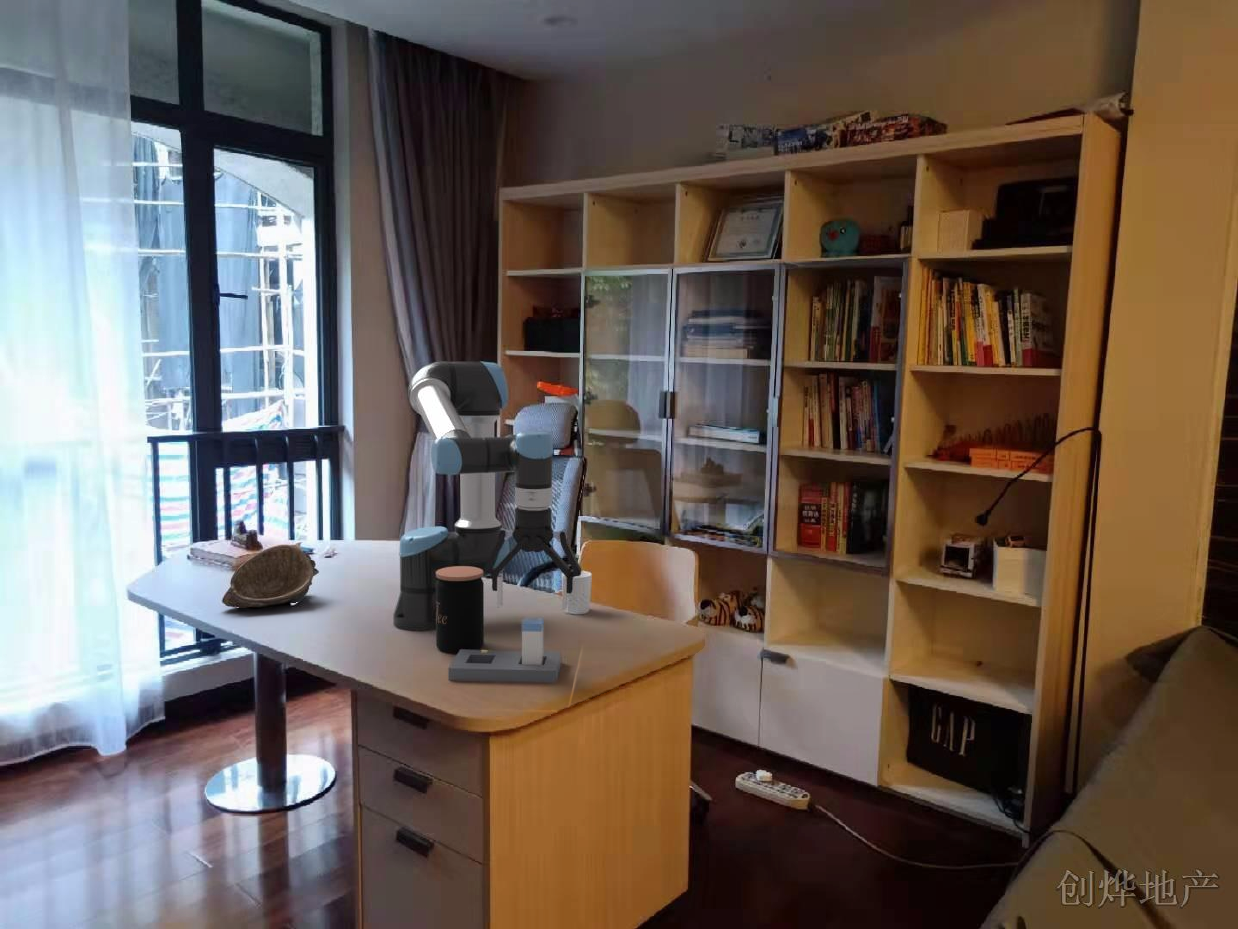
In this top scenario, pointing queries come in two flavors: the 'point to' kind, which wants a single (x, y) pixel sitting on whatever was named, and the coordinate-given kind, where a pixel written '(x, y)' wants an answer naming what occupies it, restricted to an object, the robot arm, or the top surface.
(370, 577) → the top surface
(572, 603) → the white cup
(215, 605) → the top surface
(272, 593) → the coconut shell half
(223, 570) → the top surface
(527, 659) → the milk carton
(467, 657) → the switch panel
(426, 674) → the top surface
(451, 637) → the coffee jar
